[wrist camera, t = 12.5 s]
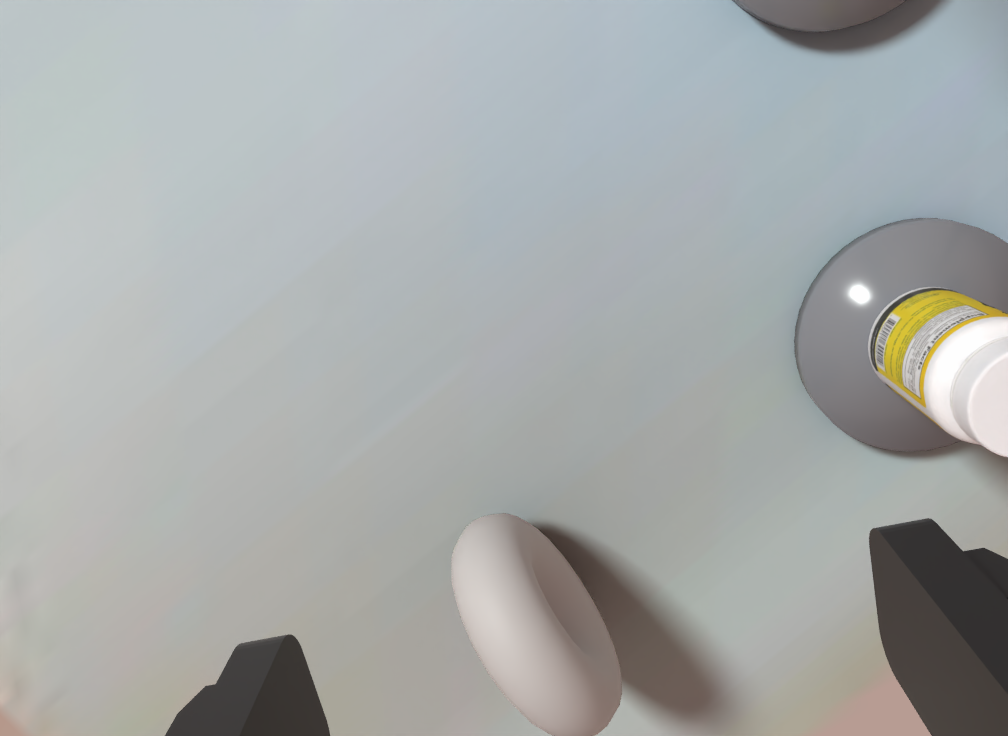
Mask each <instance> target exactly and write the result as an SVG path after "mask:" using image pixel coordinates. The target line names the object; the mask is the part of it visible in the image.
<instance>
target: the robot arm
mask: <svg viewBox="0 0 1008 736" xmlns="http://www.w3.org/2000/svg"><path fill="white" fill-rule="evenodd" d="M869 545H870V555H871V563H872V572H873V580H874V589H875V597H876V606H877V614H878V623H879V630H880V635H881V640H882V644H883V647H884V651H885V654H886V657H887V659H888V662H889V665H890V667H891V669H892V671H893V673H894V675H895V677H896V679H897V680H898V682H899V684H900V685H901V687H902V688H903V690H904V692H905V693H906V695H907V697H908V698H909V700H910V701H911V703H912V705H913V706H914V708H915V709H916V711H917V712H918V714H919V716H920V718H921V719H922V721H923V722H924V724H925V726H926V727H927V729H928V730H929V732H930V734H931V735H932V736H1008V559H1007V558H1005V557H1002V556H1000V555H998V554H996V553H994V552H992V551H990V550H987V549H985V548H980V549H974V550H969V551H962V550H961V549H960V548H959V547H958V546H957V545H956V544H955V542H954V541H953V540H952V539H951V538H950V537H949V536H948V535H947V534H946V533H945V532H944V531H943V530H942V529H941V528H940V526H939V525H938V524H937V523H936V522H935V521H933V520H932V519H929V518H927V519H922V520H917V521H911V522H906V523H900V524H895V525H889V526H884V527H879V528H873V529H872V530H871V531H870V536H869ZM165 736H330V733H329V728H328V724H327V720H326V717H325V714H324V711H323V709H322V706H321V703H320V700H319V697H318V694H317V691H316V688H315V685H314V683H313V680H312V677H311V674H310V671H309V668H308V665H307V662H306V659H305V657H304V654H303V651H302V648H301V646H300V644H299V642H298V640H297V639H296V638H295V637H294V636H293V635H284V636H278V637H273V638H268V639H262V640H257V641H251V642H246V643H241V644H239V645H238V646H237V647H236V648H235V649H234V651H233V653H232V655H231V657H230V659H229V660H228V662H227V664H226V666H225V668H224V670H223V672H222V674H221V675H220V677H219V679H218V681H217V683H216V684H215V685H209V686H205V687H204V688H203V689H202V690H201V691H200V692H199V693H198V694H197V695H196V696H195V697H194V698H193V699H192V700H191V701H190V702H189V703H188V704H187V705H186V706H185V707H184V708H183V709H182V710H181V711H180V712H179V713H178V714H177V716H176V717H175V719H174V721H173V723H172V724H171V726H170V728H169V730H168V731H167V733H166V735H165Z"/></svg>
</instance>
